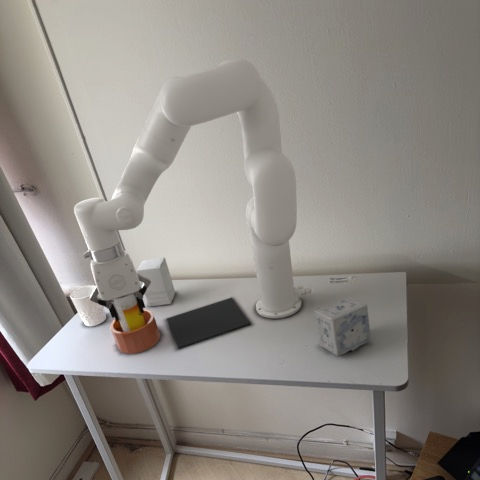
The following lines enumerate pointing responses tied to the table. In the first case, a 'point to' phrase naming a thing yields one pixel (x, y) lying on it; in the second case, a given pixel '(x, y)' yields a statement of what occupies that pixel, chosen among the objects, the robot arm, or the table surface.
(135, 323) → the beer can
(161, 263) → the white packaging box
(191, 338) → the mat
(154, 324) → the pot
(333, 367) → the table surface
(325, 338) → the incense holder
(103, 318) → the white cup
